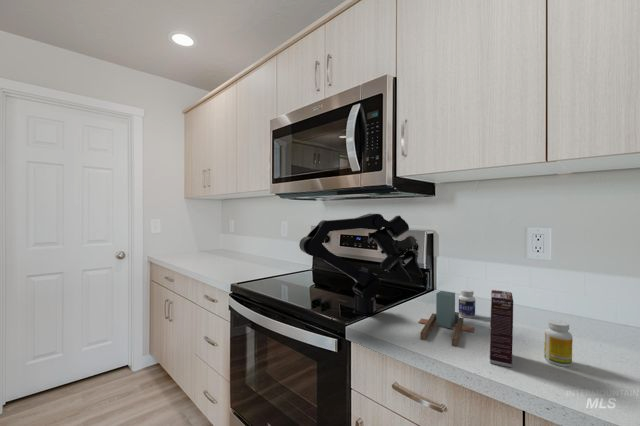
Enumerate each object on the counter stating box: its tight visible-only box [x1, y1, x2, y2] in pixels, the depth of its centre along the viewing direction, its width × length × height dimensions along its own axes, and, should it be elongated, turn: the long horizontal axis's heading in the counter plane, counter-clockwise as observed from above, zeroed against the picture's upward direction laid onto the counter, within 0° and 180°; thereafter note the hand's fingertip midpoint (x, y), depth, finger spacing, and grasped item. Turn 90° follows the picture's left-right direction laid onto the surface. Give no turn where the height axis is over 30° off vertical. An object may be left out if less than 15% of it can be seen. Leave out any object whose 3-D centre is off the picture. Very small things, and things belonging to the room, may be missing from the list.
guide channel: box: [418, 311, 475, 347], centre depth 96 cm, size 16×21×3 cm
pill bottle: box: [457, 288, 476, 319], centre depth 109 cm, size 5×5×9 cm
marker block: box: [435, 290, 456, 329], centre depth 100 cm, size 4×4×10 cm
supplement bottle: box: [543, 319, 573, 368], centre depth 76 cm, size 5×5×10 cm
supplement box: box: [489, 289, 514, 368], centre depth 77 cm, size 9×5×16 cm, turn 151°
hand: (416, 278), depth 106 cm, fingers open, 9 cm apart
